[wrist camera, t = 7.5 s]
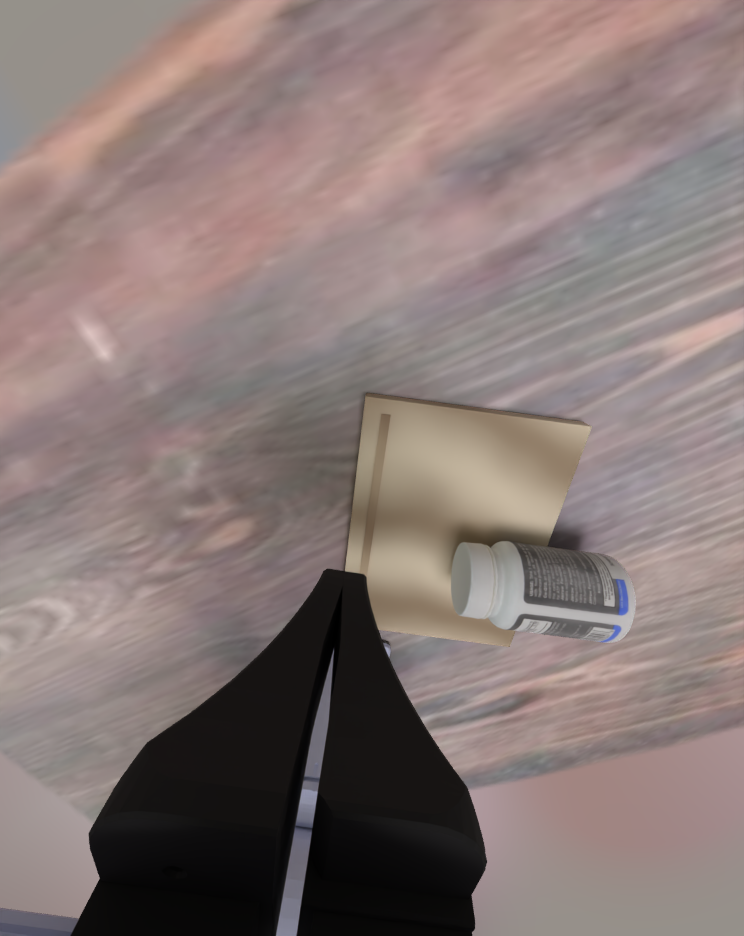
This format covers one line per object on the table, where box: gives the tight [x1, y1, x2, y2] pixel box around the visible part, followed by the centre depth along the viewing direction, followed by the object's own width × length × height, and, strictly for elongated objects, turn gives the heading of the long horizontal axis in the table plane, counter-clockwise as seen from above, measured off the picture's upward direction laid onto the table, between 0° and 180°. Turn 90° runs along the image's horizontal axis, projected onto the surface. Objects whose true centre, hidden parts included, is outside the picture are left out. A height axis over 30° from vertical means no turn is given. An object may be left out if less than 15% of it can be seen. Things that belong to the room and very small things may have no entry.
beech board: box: [345, 393, 592, 647], centre depth 22 cm, size 16×12×1 cm
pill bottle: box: [451, 541, 636, 643], centre depth 20 cm, size 5×5×8 cm
